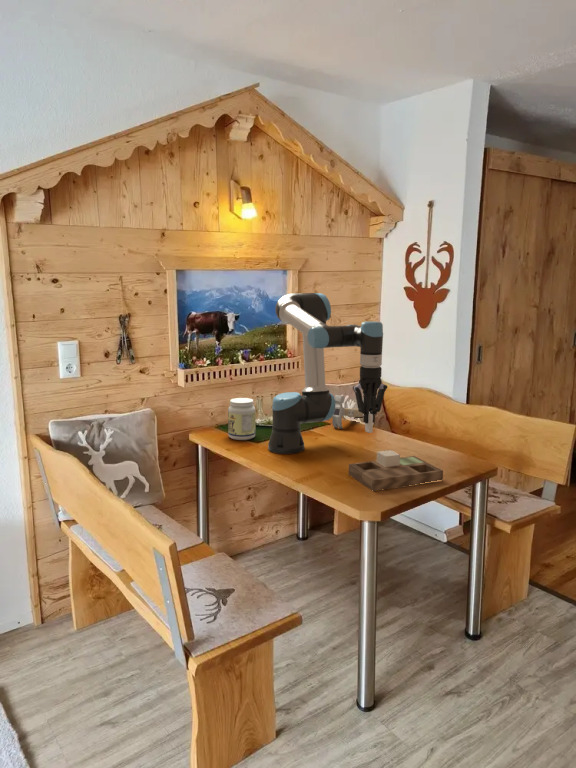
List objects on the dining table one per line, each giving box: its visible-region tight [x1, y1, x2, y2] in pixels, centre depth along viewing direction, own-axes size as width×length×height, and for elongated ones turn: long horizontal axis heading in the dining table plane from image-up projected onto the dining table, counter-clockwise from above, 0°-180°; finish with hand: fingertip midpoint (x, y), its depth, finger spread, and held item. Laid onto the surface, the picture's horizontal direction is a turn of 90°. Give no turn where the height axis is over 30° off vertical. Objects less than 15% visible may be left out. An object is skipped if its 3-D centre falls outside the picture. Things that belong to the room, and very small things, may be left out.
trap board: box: [348, 455, 444, 492], centre depth 205 cm, size 28×18×4 cm, turn 112°
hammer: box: [331, 394, 364, 430], centre depth 281 cm, size 16×5×30 cm
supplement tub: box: [227, 397, 256, 441], centre depth 255 cm, size 12×12×17 cm
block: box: [376, 449, 401, 467], centre depth 208 cm, size 6×6×4 cm
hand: (368, 431), depth 203 cm, fingers closed
